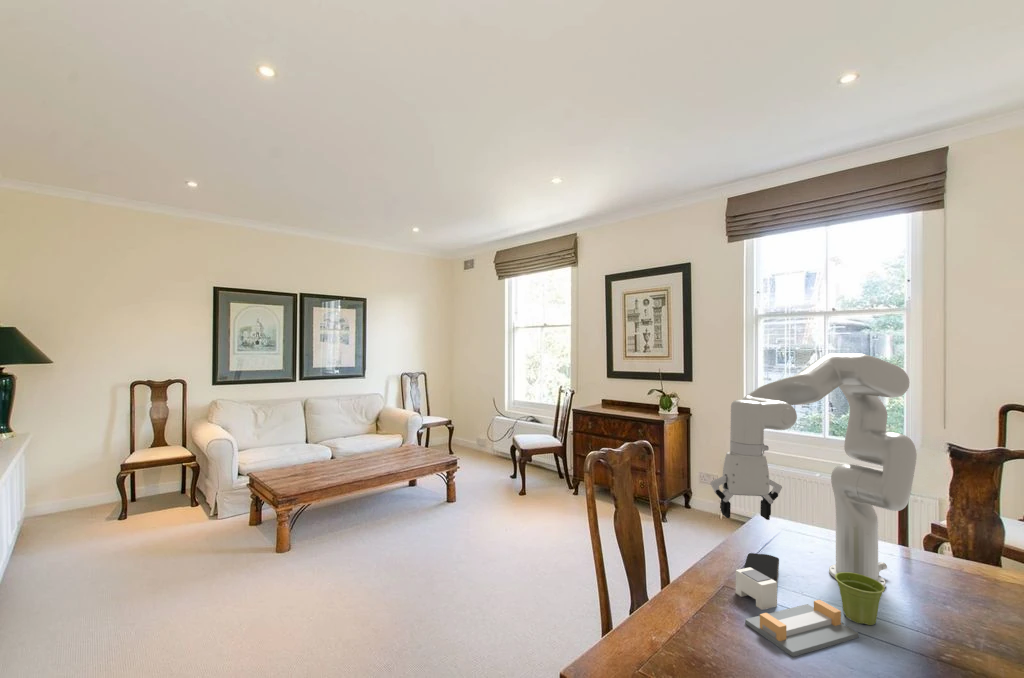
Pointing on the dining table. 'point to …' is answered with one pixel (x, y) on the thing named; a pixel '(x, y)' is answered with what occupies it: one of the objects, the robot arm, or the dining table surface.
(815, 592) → the dining table surface
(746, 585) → the block
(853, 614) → the plant pot
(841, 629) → the rail board
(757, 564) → the black sponge
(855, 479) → the robot arm
